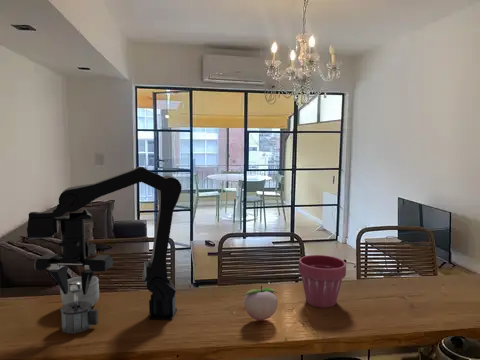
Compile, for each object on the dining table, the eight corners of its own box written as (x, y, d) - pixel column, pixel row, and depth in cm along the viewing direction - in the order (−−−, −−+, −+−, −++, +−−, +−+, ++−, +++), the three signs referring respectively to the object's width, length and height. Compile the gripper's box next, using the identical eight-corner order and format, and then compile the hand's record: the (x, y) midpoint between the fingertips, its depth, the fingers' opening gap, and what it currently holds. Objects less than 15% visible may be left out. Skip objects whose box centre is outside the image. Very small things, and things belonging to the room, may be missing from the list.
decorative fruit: (254, 331, 103) (254, 294, 102) (239, 319, 110) (239, 284, 109) (284, 323, 107) (284, 288, 106) (268, 312, 115) (268, 278, 114)
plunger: (88, 308, 107) (87, 280, 107) (80, 316, 103) (79, 286, 102) (72, 308, 108) (71, 279, 107) (63, 315, 103) (62, 286, 102)
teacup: (86, 316, 112) (85, 289, 111) (52, 313, 114) (50, 286, 113) (111, 297, 126) (110, 273, 125) (80, 294, 128) (79, 270, 127)
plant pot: (355, 304, 120) (356, 263, 119) (322, 315, 113) (323, 271, 111) (320, 289, 132) (321, 252, 131) (288, 299, 124) (289, 259, 123)
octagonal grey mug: (102, 321, 109) (102, 302, 108) (91, 334, 102) (90, 313, 101) (70, 320, 110) (69, 301, 109) (56, 332, 102) (55, 312, 102)
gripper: (119, 229, 111) (121, 284, 112) (55, 228, 112) (57, 282, 114) (103, 239, 100) (105, 299, 101) (31, 238, 101) (34, 297, 102)
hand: (75, 294), depth 105 cm, fingers open, 5 cm apart
